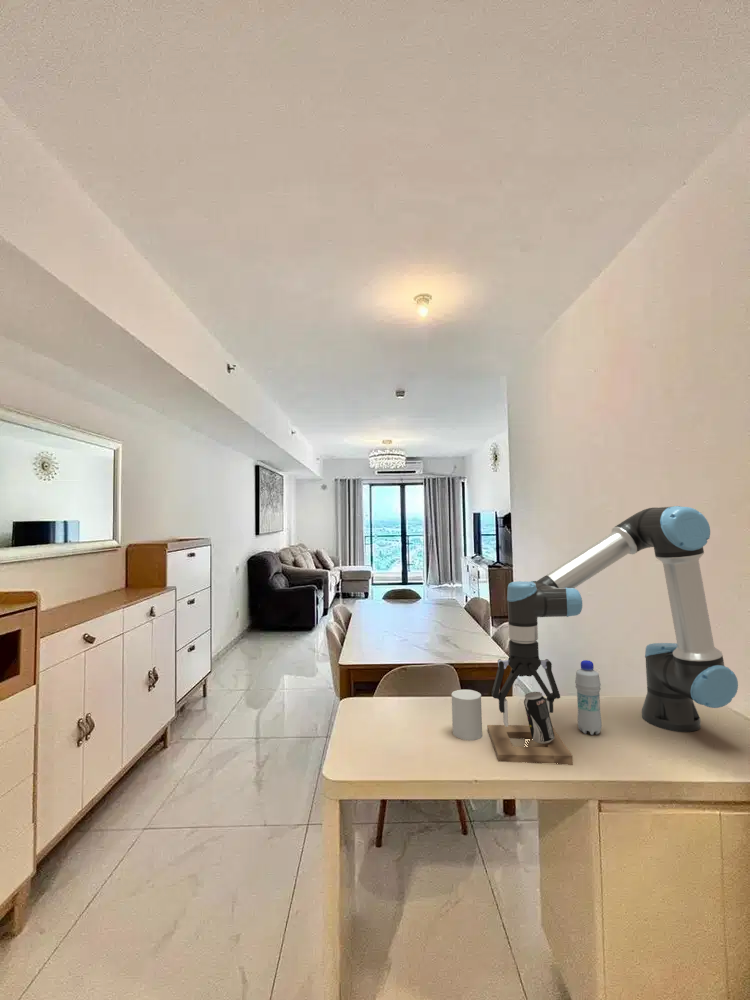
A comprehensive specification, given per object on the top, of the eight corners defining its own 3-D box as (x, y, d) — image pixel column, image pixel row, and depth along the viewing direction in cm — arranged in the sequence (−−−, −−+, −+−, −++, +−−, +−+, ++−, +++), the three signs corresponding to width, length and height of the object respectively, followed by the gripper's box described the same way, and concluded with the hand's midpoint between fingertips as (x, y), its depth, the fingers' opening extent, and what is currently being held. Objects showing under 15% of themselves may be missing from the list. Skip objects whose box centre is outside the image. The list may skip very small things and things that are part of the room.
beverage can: (532, 735, 133) (522, 691, 134) (554, 734, 131) (544, 689, 132) (532, 746, 128) (522, 700, 128) (555, 744, 126) (544, 697, 127)
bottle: (605, 737, 136) (602, 664, 137) (579, 736, 137) (576, 663, 138) (599, 727, 142) (596, 657, 143) (575, 726, 144) (572, 656, 145)
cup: (485, 734, 139) (483, 691, 140) (478, 746, 132) (477, 701, 133) (457, 730, 143) (456, 688, 143) (449, 741, 136) (448, 697, 136)
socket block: (552, 734, 139) (551, 725, 139) (572, 765, 121) (572, 755, 121) (487, 733, 140) (487, 724, 140) (498, 764, 122) (498, 754, 122)
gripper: (562, 636, 135) (565, 719, 134) (478, 637, 136) (481, 718, 135) (571, 643, 127) (574, 731, 126) (482, 643, 129) (485, 730, 128)
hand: (526, 724), depth 131 cm, fingers open, 10 cm apart
